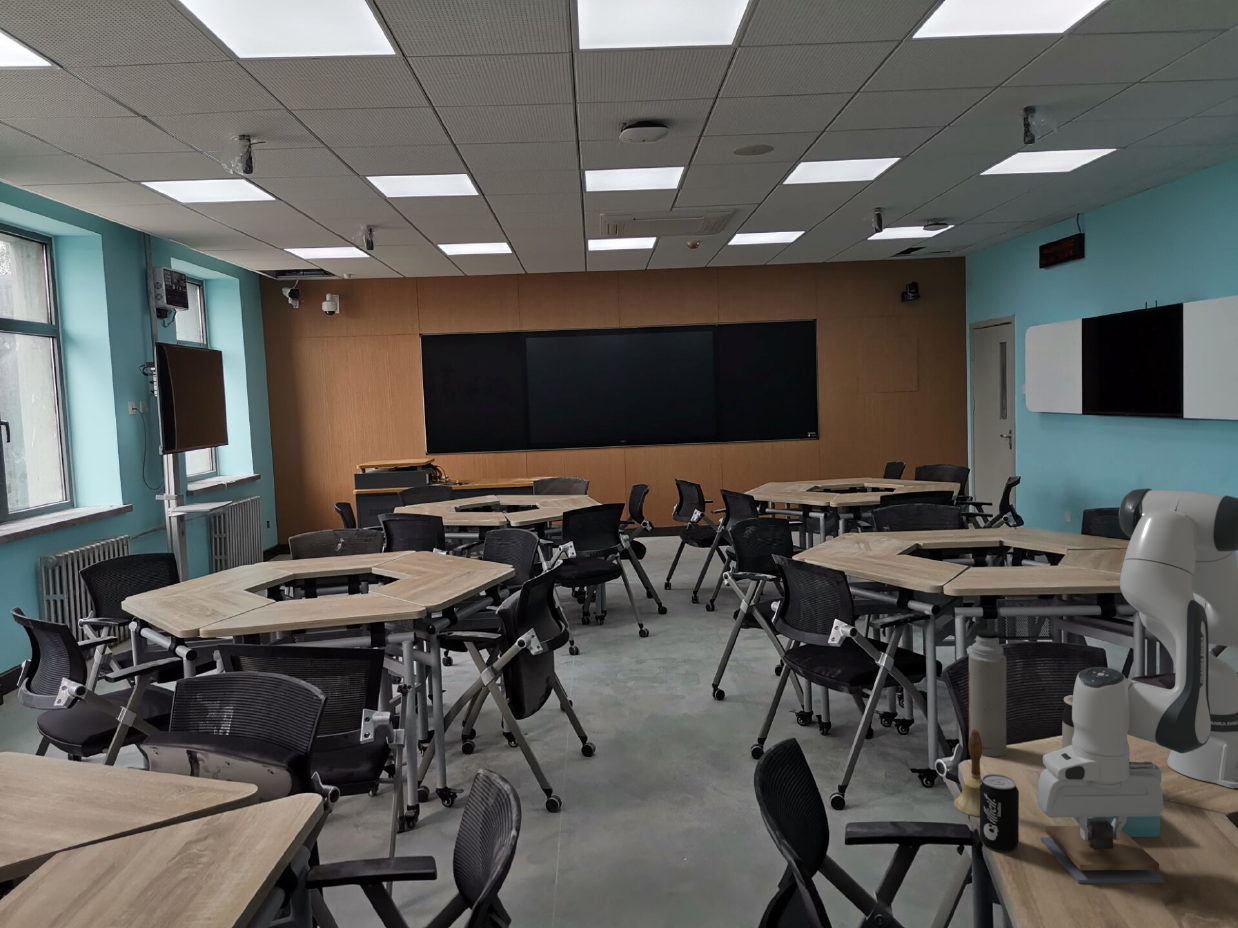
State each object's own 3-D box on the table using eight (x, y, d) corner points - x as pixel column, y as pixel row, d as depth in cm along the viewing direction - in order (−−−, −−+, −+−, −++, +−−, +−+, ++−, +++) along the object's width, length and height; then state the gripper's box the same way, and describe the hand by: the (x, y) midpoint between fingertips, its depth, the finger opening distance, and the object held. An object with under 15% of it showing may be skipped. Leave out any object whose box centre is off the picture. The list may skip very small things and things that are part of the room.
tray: (1118, 839, 156) (1118, 836, 156) (1163, 882, 142) (1163, 879, 142) (1040, 840, 157) (1040, 837, 157) (1078, 882, 143) (1078, 879, 143)
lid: (1117, 830, 156) (1117, 804, 155) (1159, 869, 143) (1159, 840, 142) (1045, 831, 156) (1045, 805, 156) (1080, 870, 143) (1080, 841, 143)
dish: (1123, 805, 169) (1124, 776, 168) (1159, 836, 157) (1159, 805, 156) (1062, 806, 169) (1062, 777, 169) (1093, 837, 157) (1093, 805, 157)
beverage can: (1022, 854, 152) (1022, 789, 152) (983, 851, 154) (983, 787, 153) (1013, 835, 159) (1013, 773, 158) (976, 833, 160) (976, 771, 159)
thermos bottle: (963, 750, 198) (962, 632, 196) (977, 739, 203) (977, 625, 201) (998, 759, 192) (998, 638, 190) (1011, 748, 197) (1011, 630, 195)
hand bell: (995, 821, 164) (995, 741, 163) (950, 811, 169) (949, 733, 168) (1001, 803, 171) (1001, 726, 170) (958, 794, 176) (957, 719, 175)
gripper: (1150, 753, 151) (1149, 828, 152) (1033, 755, 152) (1033, 829, 153) (1172, 769, 145) (1170, 846, 146) (1049, 770, 146) (1049, 848, 147)
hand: (1099, 838), depth 149 cm, fingers closed on lid, 3 cm apart
